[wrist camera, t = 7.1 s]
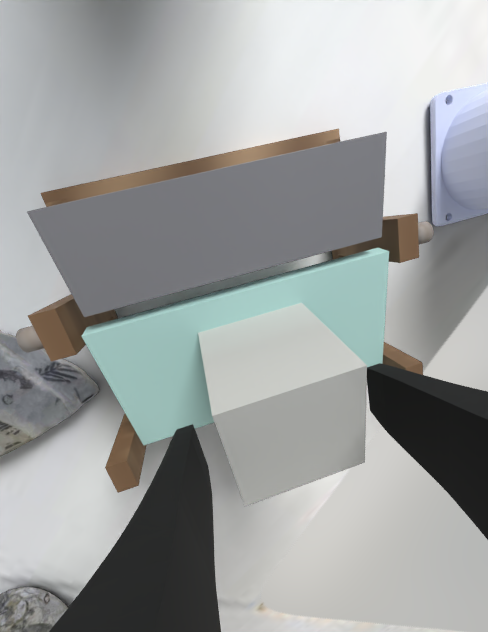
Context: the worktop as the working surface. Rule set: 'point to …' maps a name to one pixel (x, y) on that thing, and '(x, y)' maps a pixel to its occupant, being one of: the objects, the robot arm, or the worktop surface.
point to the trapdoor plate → (221, 266)
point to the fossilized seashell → (29, 610)
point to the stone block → (284, 400)
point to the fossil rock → (36, 393)
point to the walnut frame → (69, 323)
